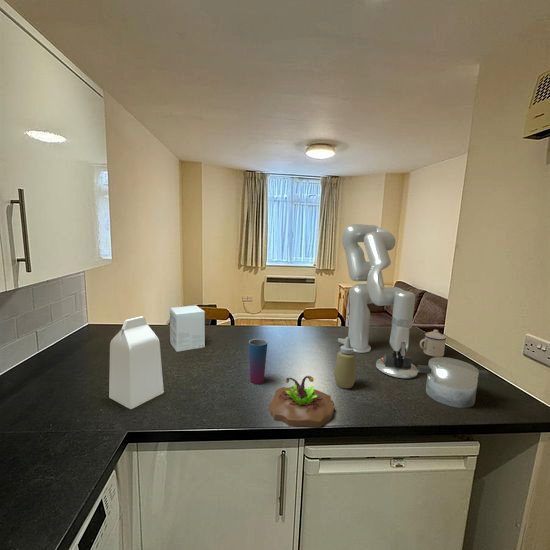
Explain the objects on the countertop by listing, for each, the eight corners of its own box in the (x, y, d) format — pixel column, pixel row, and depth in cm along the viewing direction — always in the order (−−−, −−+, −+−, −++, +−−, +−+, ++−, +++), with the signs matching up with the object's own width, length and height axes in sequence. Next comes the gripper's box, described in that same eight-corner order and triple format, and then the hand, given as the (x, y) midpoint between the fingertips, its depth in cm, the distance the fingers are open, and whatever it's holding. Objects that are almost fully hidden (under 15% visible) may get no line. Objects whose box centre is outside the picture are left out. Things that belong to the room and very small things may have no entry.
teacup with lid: (435, 349, 152) (438, 326, 150) (448, 357, 143) (451, 333, 142) (413, 350, 150) (415, 327, 149) (425, 358, 141) (427, 333, 140)
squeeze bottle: (343, 392, 108) (346, 343, 106) (328, 382, 115) (331, 335, 113) (360, 387, 112) (364, 339, 109) (345, 378, 119) (348, 333, 116)
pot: (423, 404, 102) (426, 372, 101) (409, 382, 117) (411, 354, 115) (496, 411, 100) (501, 378, 98) (472, 388, 114) (476, 359, 113)
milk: (130, 409, 94) (128, 326, 90) (109, 397, 100) (105, 319, 96) (163, 392, 104) (162, 317, 100) (142, 383, 110) (140, 311, 106)
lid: (380, 375, 120) (382, 362, 119) (372, 358, 136) (374, 346, 135) (423, 380, 118) (425, 366, 117) (410, 362, 134) (412, 349, 133)
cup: (268, 378, 116) (270, 340, 114) (262, 386, 110) (263, 346, 108) (252, 375, 118) (253, 337, 116) (244, 383, 112) (245, 343, 110)
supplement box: (196, 338, 156) (196, 304, 154) (205, 347, 145) (205, 311, 143) (169, 342, 149) (169, 307, 147) (176, 352, 138) (175, 314, 136)
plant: (330, 434, 86) (332, 396, 84) (263, 421, 90) (264, 385, 89) (335, 398, 105) (337, 366, 103) (279, 389, 110) (280, 358, 108)
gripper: (387, 315, 132) (383, 355, 135) (397, 327, 116) (392, 373, 119) (405, 316, 132) (400, 357, 134) (418, 329, 115) (412, 375, 118)
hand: (397, 364), depth 127 cm, fingers closed on lid, 3 cm apart
